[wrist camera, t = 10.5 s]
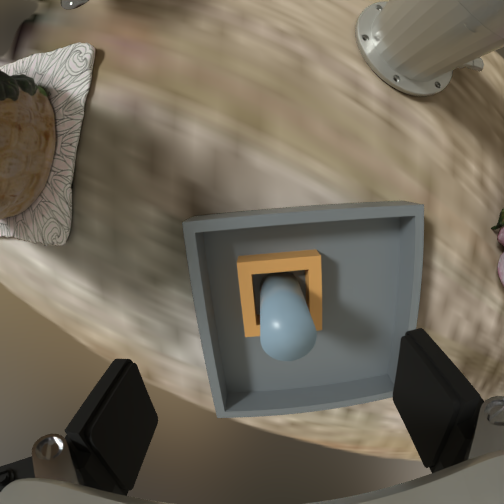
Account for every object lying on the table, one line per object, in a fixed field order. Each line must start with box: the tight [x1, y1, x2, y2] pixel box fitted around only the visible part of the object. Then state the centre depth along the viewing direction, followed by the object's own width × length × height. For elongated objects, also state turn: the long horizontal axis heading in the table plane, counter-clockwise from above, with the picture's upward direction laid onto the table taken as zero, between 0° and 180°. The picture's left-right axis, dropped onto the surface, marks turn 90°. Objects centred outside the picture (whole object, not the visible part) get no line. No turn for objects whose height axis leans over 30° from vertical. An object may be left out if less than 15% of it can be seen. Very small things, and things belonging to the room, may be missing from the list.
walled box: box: [182, 201, 424, 418], centre depth 30 cm, size 22×22×4 cm
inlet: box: [237, 249, 322, 337], centre depth 29 cm, size 8×8×2 cm
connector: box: [260, 271, 317, 361], centre depth 25 cm, size 4×4×10 cm
